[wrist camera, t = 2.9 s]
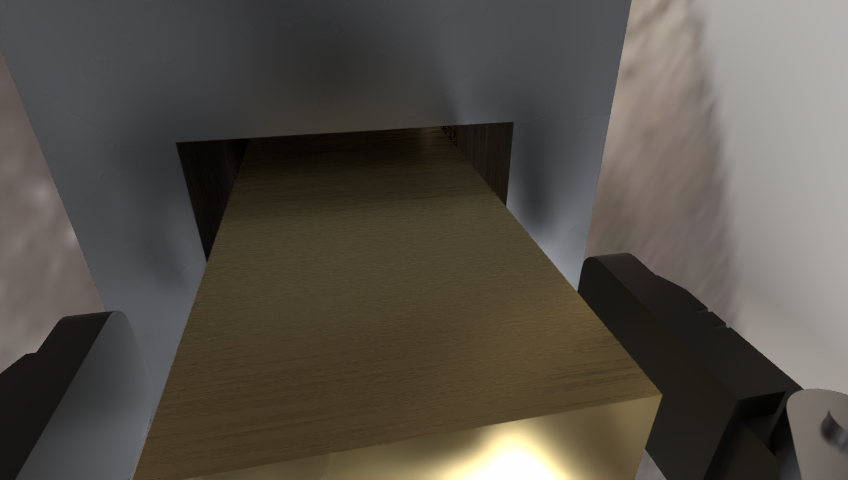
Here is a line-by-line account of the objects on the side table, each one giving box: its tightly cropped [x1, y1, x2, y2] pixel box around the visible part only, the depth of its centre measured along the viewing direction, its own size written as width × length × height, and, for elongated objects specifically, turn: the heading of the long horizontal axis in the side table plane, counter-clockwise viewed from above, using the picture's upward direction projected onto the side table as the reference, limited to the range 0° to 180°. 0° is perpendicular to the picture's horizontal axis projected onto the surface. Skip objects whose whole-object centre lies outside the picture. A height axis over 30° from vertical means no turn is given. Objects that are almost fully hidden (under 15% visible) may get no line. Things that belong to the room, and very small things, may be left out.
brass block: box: [133, 126, 662, 480], centre depth 9 cm, size 4×4×10 cm
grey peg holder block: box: [0, 0, 631, 424], centre depth 15 cm, size 24×10×4 cm, turn 0°
